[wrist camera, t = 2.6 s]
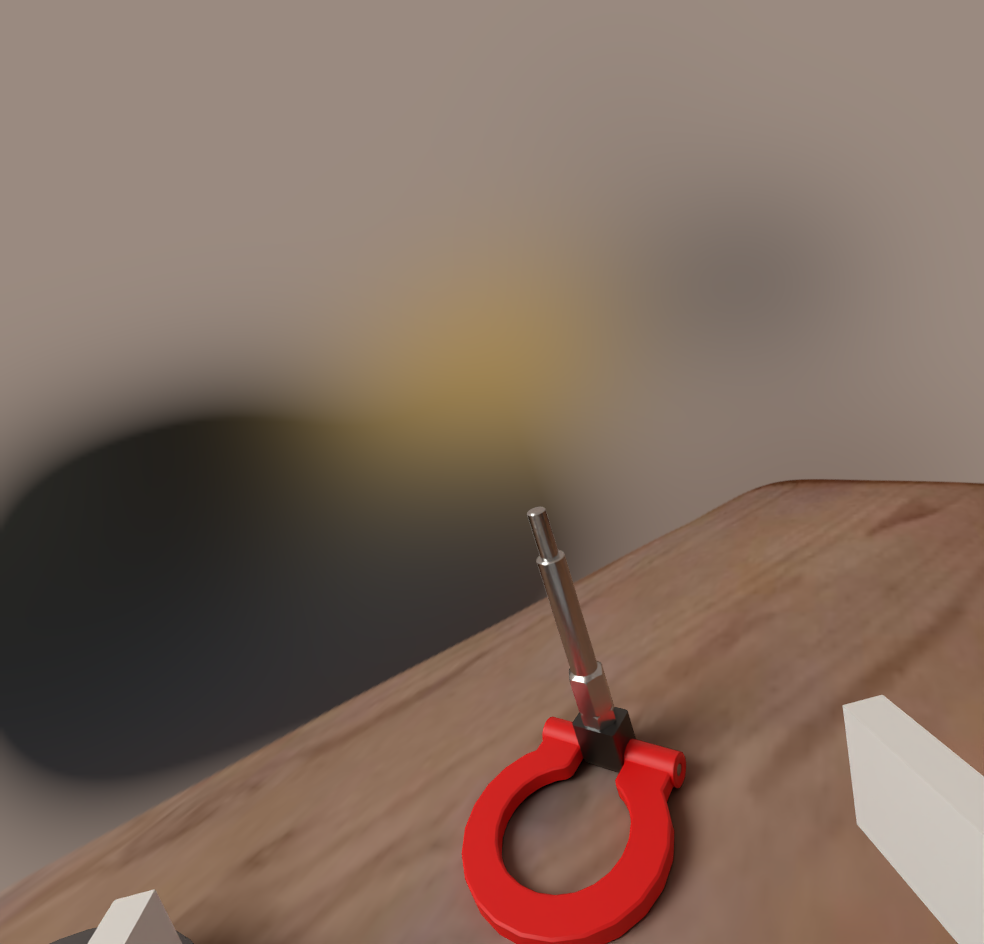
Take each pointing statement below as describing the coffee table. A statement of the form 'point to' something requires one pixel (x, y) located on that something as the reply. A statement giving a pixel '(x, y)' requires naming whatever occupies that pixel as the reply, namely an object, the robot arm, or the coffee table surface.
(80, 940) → the rosette plate
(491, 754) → the coffee table surface
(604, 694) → the tow hook
